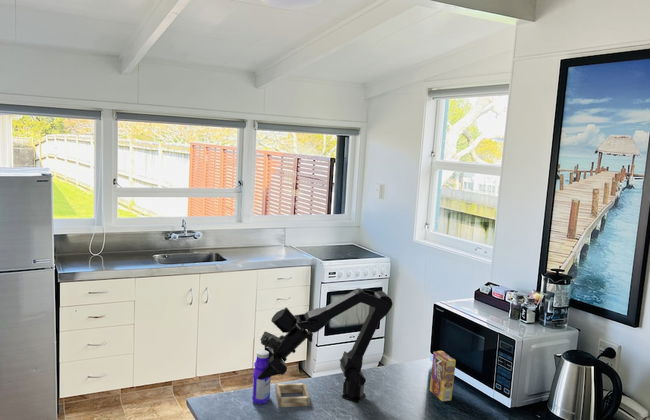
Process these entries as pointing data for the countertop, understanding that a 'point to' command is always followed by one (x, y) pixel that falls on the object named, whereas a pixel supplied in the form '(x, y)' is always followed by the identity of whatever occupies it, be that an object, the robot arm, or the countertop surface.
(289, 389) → the wooden square frame
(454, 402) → the countertop surface
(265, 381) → the bottle
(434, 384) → the candy box
